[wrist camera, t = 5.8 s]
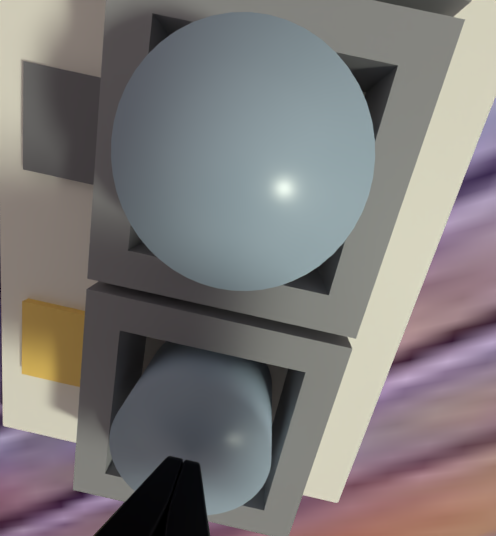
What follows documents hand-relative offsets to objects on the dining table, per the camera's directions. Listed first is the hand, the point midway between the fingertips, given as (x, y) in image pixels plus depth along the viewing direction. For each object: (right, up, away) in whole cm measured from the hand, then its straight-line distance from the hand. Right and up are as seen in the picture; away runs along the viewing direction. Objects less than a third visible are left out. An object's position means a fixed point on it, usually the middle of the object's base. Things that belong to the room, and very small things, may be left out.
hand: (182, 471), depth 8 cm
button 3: (0, +1, +3) cm, 4 cm away
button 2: (+2, +8, 0) cm, 8 cm away
